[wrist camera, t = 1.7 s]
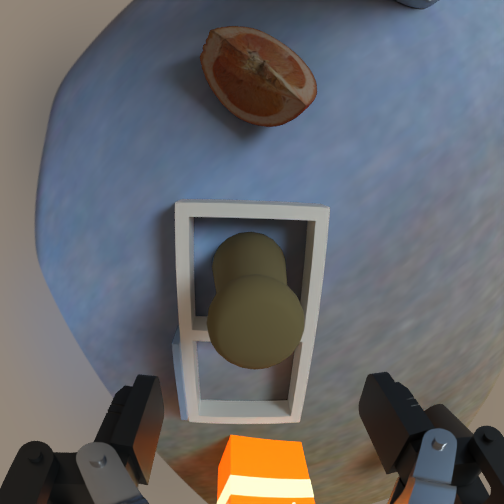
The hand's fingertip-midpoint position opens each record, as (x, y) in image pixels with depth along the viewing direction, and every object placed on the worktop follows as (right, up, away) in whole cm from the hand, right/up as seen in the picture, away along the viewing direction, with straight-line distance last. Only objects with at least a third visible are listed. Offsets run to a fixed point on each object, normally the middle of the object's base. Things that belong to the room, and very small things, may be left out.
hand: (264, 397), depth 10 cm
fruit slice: (0, +19, +11) cm, 22 cm away
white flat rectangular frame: (-1, -1, +16) cm, 16 cm away
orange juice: (0, -20, +21) cm, 29 cm away
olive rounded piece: (-1, +4, +15) cm, 15 cm away
